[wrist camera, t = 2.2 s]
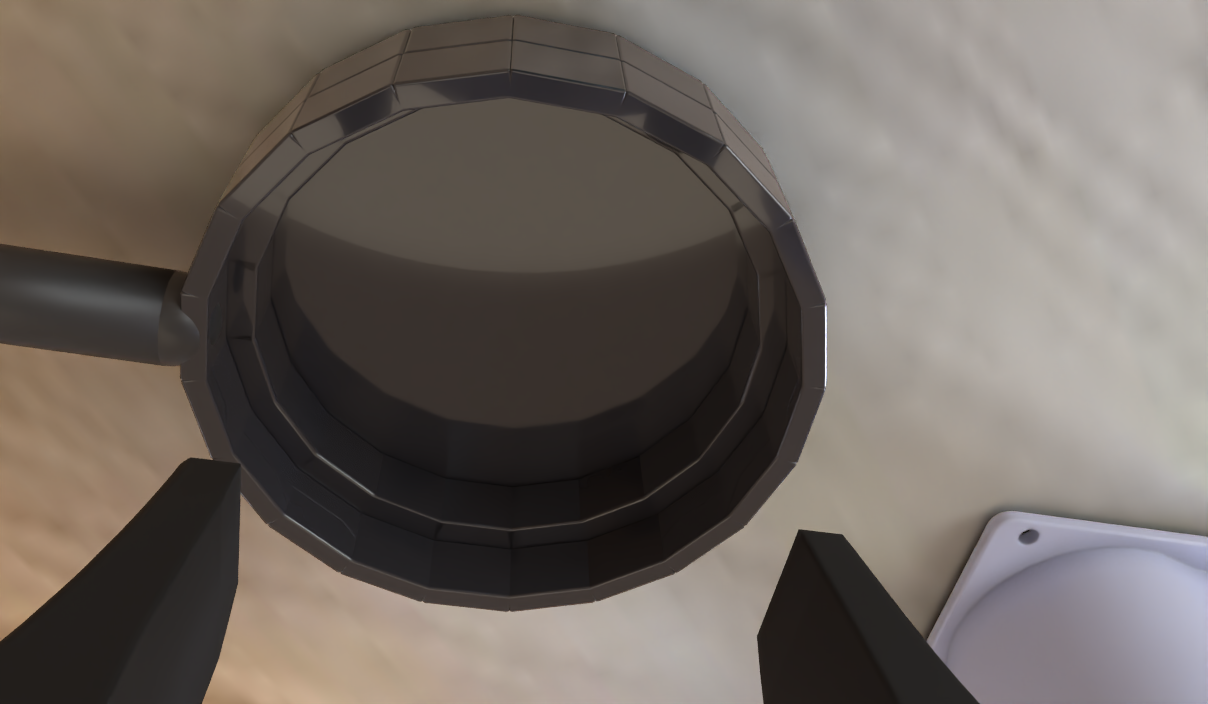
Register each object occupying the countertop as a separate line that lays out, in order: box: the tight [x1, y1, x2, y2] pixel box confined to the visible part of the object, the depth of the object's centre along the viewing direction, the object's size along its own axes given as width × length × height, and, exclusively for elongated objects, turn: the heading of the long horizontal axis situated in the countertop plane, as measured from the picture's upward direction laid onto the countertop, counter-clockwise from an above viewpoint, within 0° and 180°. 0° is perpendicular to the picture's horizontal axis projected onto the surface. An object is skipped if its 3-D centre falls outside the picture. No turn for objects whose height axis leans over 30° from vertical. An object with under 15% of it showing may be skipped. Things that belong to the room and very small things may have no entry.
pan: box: [180, 15, 827, 612], centre depth 23 cm, size 12×12×4 cm
